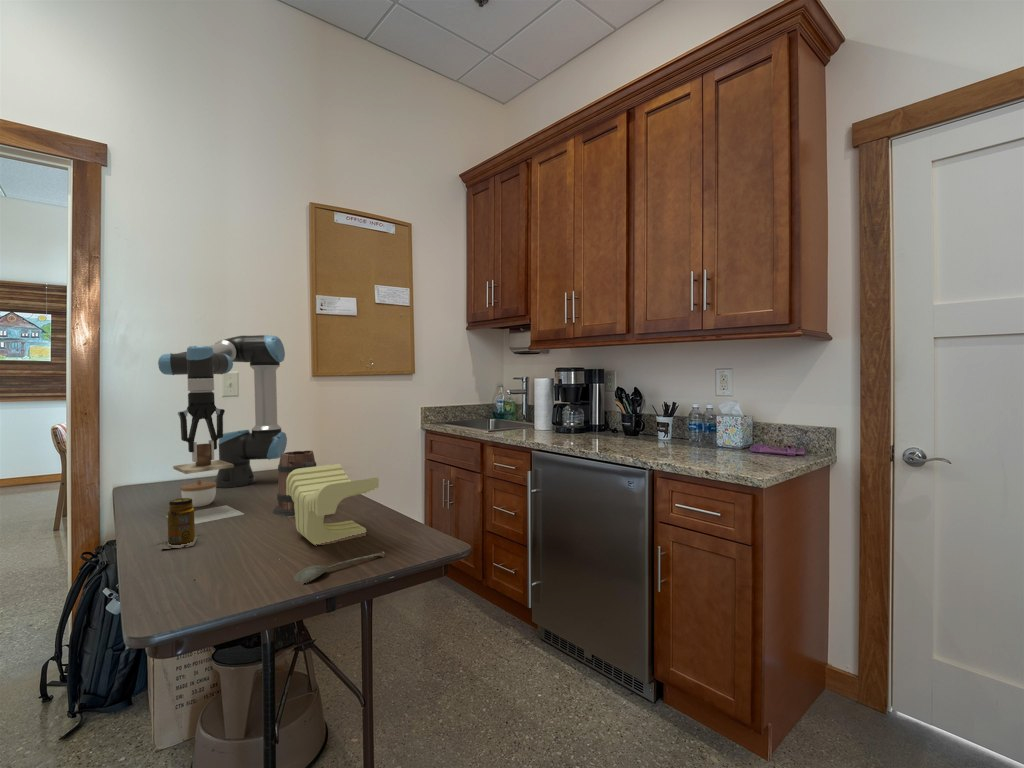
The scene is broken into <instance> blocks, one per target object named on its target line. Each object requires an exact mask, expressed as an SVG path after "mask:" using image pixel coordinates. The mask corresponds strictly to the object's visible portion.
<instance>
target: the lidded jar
mask: <svg viewBox="0 0 1024 768" xmlns="http://www.w3.org/2000/svg"><path fill="white" fill-rule="evenodd" d="M180 491H181V493H180V494H181V498H191V499H192V504H193V506H192V507H193V508H199V507H205V506H209V505H210V504H211V503H212V502H213V501H214V500H215V498H216V493H217V487H216V483H215V481H214V482H213V481H201V479H197V480H196V482H193V483H188V484H184V485H181V486H180Z"/></svg>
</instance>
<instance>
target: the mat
mask: <svg viewBox="0 0 1024 768" xmlns="http://www.w3.org/2000/svg"><path fill="white" fill-rule="evenodd" d="M242 515H245V513H244V512H241V511H240V510H238V509H235V508H233V507H231V506H229V505H221V506H220V505H219V506H215V507H209V508H204V509H197V510H194V523H195V524H194V525H197V524H202V523H207V522H212V521H217V520H222V519H228V518H233V517H237V516H242ZM165 518H167V519H168V515H165Z"/></svg>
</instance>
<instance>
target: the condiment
mask: <svg viewBox="0 0 1024 768" xmlns="http://www.w3.org/2000/svg"><path fill="white" fill-rule="evenodd" d="M168 505H169V507H168V509H169V511H168V512H167V516H168V518H167V541H168V543H169V544H171V545H181V544H187V543H190V542H193V541H194V538H196V536H195V533H196V532H195V528H196V527H195V525H196V524H195V523H194V511H195V507H192V506H193V504H192V499H191V498H182V497H181V498H176V499H172V500H170V501H169V503H168Z"/></svg>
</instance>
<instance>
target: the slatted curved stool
mask: <svg viewBox="0 0 1024 768" xmlns="http://www.w3.org/2000/svg"><path fill="white" fill-rule="evenodd" d="M379 487H380V485H379V477H372V478H366V479H365V478H364V479H359V480H358V479H357V480H351V479H350V478H349V476H348V475H347V474H346V472H345V470H344V469H343V466H342V465H341V463H336V464H335V463H334V464H325V465H316V466H315V467H307V468H299V469H295V470H293V471H292V472H291V473H290V474H289V475H288V477H287V480H286V495H290V496H291V498H292V500H293V502H294V509H295V517H294V518H295V527H296V531H297V532H298V533H299V534H300V535H301V536H303V537H304V538H306V540H308V542H310V543H311V544H313V545H314V546H317V545H316V544H321V543H325V542H330V541H334V540H338V539H341V538H345V537H348V536H352V535H357V534H361V533H365V532H367V528H366V527H364V526H362V525H360V524H359V523H358V522H355V521H354V520H345V521H339V522H332V523H331V522H329V523H324V521H325V520H324V519H325V516H326V515H327V516H328V515H333V514H334V515H335V514H336V512H337V508H338V506H339V504H340V503H341V502H342V501H343V500H344V499H346V498H349V497H354V496H359V495H362V494H363V495H364V494H367V493H369V492H371V491H373V490H376V489H379Z"/></svg>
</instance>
